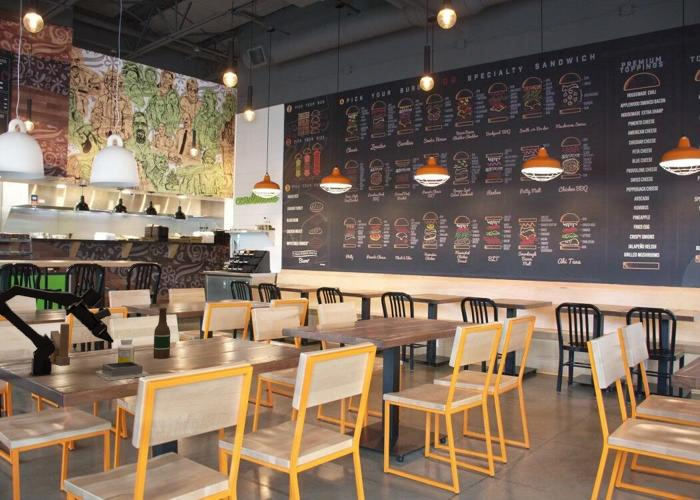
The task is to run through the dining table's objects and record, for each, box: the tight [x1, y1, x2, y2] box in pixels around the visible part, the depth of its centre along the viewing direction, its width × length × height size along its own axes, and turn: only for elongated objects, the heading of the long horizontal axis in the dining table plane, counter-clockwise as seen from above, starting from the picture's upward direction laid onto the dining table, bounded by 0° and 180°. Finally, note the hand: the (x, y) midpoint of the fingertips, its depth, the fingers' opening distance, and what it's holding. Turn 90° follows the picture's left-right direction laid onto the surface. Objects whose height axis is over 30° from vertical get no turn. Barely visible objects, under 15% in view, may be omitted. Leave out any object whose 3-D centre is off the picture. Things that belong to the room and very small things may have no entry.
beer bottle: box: [152, 306, 171, 360], centre depth 286 cm, size 8×8×24 cm
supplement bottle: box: [117, 337, 136, 363], centre depth 255 cm, size 7×7×13 cm
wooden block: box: [49, 323, 71, 366], centre depth 262 cm, size 4×11×18 cm, turn 55°
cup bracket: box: [95, 361, 150, 382], centre depth 241 cm, size 16×16×4 cm
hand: (111, 340), depth 252 cm, fingers open, 9 cm apart
